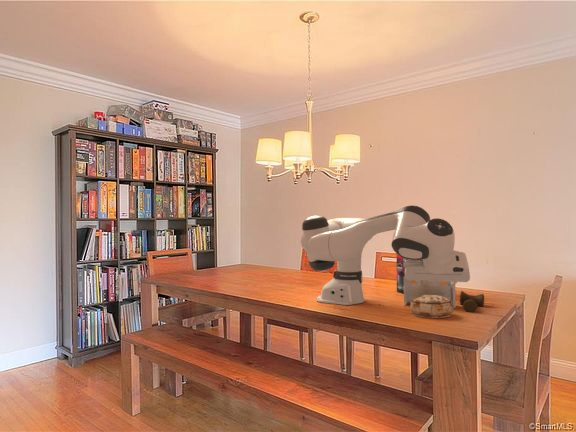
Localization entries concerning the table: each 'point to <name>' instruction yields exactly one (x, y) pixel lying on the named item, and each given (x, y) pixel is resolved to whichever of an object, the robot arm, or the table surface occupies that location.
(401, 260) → the graphics card box
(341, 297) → the robot arm
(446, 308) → the trinket box
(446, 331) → the table surface
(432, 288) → the bracket
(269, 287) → the table surface
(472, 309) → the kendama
